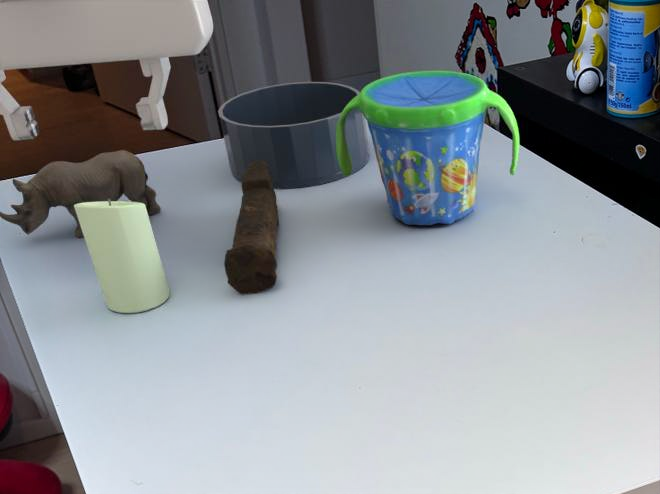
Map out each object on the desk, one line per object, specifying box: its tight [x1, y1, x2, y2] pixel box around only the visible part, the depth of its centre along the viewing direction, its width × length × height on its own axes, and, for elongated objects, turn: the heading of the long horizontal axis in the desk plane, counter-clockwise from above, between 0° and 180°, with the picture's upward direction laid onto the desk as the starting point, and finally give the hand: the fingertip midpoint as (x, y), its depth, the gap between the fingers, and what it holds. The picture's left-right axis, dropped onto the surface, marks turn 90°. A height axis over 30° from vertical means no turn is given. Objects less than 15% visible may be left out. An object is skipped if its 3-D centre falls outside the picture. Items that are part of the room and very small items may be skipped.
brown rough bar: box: [223, 160, 280, 295], centre depth 86 cm, size 19×4×5 cm, turn 3°
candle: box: [74, 199, 171, 314], centre depth 78 cm, size 5×5×8 cm
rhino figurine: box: [0, 149, 162, 238], centre depth 90 cm, size 4×14×6 cm, turn 114°
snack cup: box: [336, 70, 520, 226], centre depth 87 cm, size 16×10×10 cm
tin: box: [217, 81, 370, 190], centre depth 100 cm, size 14×14×6 cm
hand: (91, 132), depth 72 cm, fingers open, 8 cm apart
